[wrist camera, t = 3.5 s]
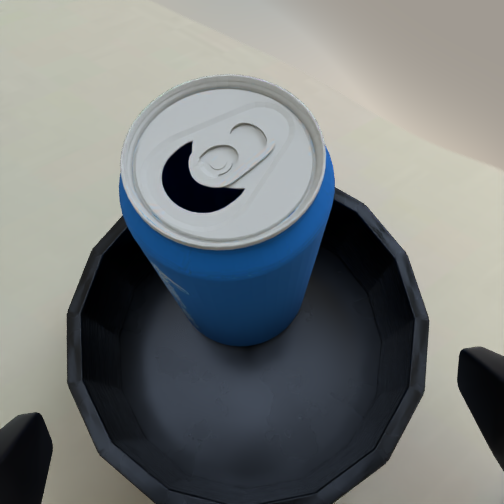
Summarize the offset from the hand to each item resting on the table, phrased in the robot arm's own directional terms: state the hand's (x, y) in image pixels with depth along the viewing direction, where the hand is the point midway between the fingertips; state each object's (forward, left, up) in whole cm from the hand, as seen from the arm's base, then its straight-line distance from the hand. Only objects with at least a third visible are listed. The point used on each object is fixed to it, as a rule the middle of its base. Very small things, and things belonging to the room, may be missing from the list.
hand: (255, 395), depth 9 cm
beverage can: (+6, 0, -12) cm, 14 cm away
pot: (+4, 0, -12) cm, 13 cm away
